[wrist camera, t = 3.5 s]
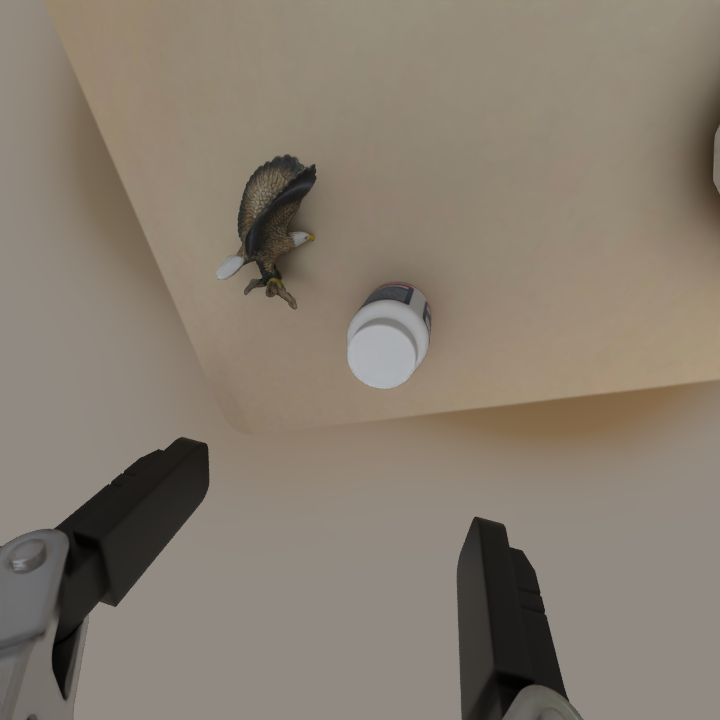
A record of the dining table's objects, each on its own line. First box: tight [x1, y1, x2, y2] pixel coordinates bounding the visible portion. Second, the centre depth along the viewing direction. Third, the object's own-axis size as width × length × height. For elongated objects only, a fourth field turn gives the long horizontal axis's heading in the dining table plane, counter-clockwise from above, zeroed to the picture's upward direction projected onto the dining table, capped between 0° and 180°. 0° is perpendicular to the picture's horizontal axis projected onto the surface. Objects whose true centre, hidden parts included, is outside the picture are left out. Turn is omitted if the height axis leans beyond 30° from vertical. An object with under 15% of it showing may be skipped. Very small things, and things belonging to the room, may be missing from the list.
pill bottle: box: [347, 282, 431, 389], centre depth 25 cm, size 5×5×9 cm
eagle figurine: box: [215, 154, 316, 309], centre depth 25 cm, size 8×7×9 cm
